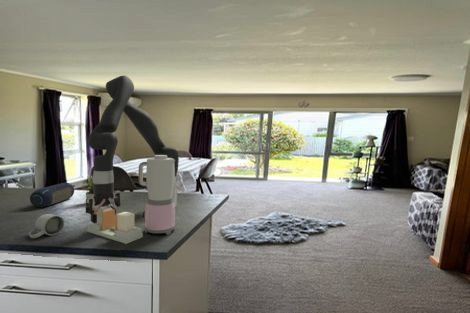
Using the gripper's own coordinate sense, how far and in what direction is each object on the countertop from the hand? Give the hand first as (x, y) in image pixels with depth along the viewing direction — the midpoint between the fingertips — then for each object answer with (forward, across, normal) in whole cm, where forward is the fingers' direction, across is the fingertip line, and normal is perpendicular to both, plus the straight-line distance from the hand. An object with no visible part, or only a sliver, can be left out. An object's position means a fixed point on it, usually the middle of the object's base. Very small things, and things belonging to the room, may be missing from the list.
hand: (103, 220), depth 111 cm
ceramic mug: (+5, +14, -15) cm, 21 cm away
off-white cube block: (+3, 0, 0) cm, 3 cm away
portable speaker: (+5, -13, -60) cm, 62 cm away
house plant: (+5, -25, -42) cm, 49 cm away
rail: (+5, 0, +6) cm, 8 cm away
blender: (+5, -12, +17) cm, 22 cm away
